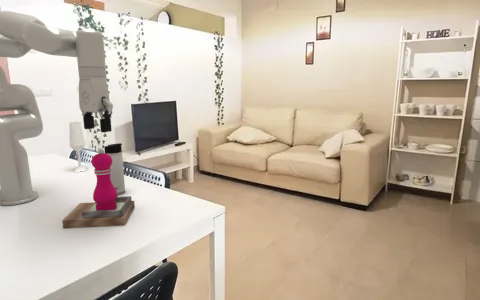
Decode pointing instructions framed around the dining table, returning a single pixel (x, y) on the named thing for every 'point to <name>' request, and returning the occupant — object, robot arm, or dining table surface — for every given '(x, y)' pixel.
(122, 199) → the dock
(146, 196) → the dining table surface
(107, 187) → the pepper mill
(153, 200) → the dining table surface
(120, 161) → the travel mug
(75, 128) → the champagne flute
